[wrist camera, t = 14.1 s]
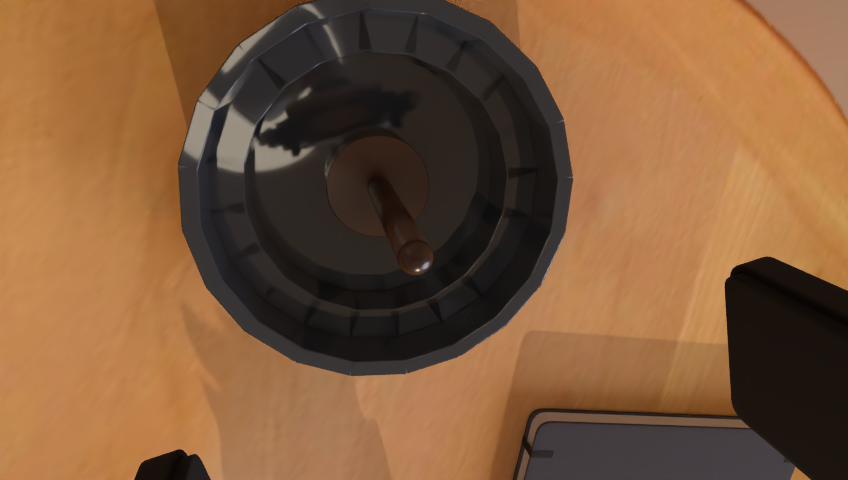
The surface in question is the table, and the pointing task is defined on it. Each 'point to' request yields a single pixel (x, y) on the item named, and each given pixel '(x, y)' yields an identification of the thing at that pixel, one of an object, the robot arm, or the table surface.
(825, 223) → the table surface
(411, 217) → the plunger
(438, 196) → the bowl
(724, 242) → the table surface
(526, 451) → the notebook
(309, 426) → the table surface
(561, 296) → the table surface
